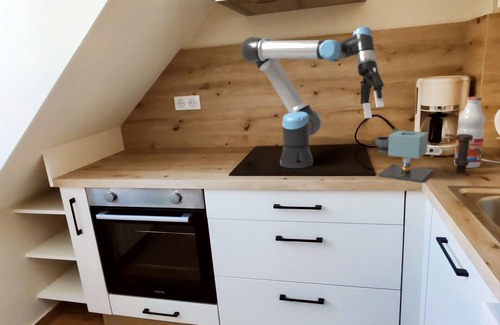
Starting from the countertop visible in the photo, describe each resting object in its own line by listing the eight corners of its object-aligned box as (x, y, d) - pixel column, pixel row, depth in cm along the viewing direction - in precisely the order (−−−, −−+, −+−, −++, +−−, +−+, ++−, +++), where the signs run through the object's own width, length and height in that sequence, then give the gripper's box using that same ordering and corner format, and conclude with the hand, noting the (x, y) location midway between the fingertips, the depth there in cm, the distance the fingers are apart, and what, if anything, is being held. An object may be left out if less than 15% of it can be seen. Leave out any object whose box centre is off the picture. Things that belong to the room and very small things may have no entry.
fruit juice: (480, 163, 145) (488, 96, 138) (480, 169, 138) (488, 98, 131) (454, 161, 150) (460, 96, 143) (452, 167, 143) (459, 98, 136)
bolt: (454, 170, 138) (458, 133, 134) (469, 172, 135) (473, 134, 131) (451, 174, 134) (455, 136, 130) (466, 176, 131) (471, 137, 127)
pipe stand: (378, 176, 136) (379, 151, 134) (392, 166, 148) (393, 143, 145) (422, 182, 126) (424, 156, 124) (433, 171, 138) (435, 147, 135)
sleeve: (388, 155, 134) (388, 135, 132) (397, 149, 143) (398, 130, 140) (418, 158, 128) (419, 137, 125) (426, 152, 136) (427, 132, 134)
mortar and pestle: (373, 153, 172) (374, 129, 169) (376, 149, 180) (377, 126, 177) (397, 154, 167) (399, 130, 164) (399, 150, 175) (401, 127, 172)
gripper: (387, 48, 132) (395, 101, 128) (365, 76, 156) (372, 121, 152) (367, 49, 131) (375, 102, 128) (349, 77, 156) (355, 122, 152)
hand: (374, 112), depth 140 cm, fingers open, 13 cm apart
